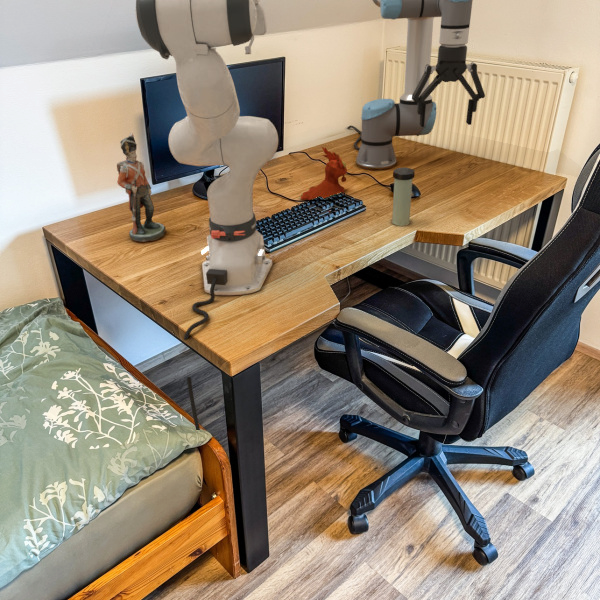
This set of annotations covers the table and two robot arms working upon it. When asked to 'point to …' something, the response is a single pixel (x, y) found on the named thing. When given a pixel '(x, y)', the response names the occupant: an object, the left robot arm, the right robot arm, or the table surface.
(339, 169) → the toy
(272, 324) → the table surface
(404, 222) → the jar
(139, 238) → the figurine
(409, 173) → the lid
